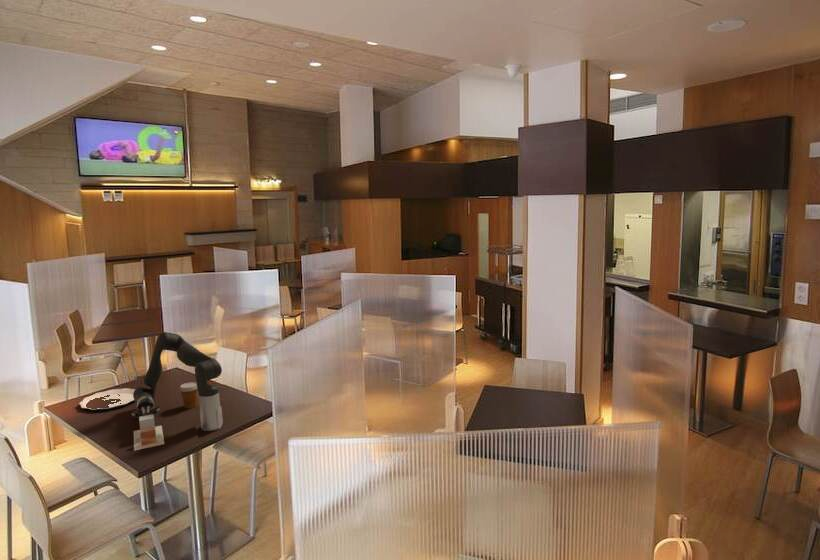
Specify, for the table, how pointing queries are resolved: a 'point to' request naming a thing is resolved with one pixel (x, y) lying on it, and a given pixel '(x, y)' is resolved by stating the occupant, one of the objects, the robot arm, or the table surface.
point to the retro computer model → (146, 422)
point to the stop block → (148, 436)
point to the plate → (125, 398)
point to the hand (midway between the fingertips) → (146, 417)
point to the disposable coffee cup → (189, 394)
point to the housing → (158, 442)
